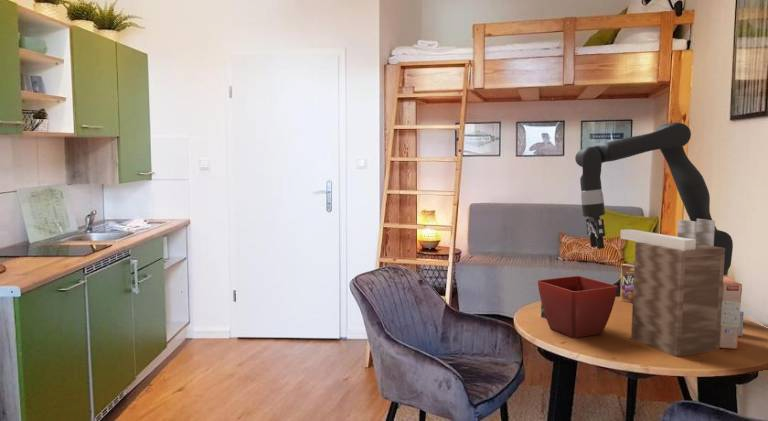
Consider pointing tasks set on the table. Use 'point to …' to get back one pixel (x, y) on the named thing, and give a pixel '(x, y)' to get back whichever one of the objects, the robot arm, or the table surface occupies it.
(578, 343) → the table surface
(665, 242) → the cream box
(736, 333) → the cracker box
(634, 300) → the walnut shelf
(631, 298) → the candy box
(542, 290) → the plant pot
